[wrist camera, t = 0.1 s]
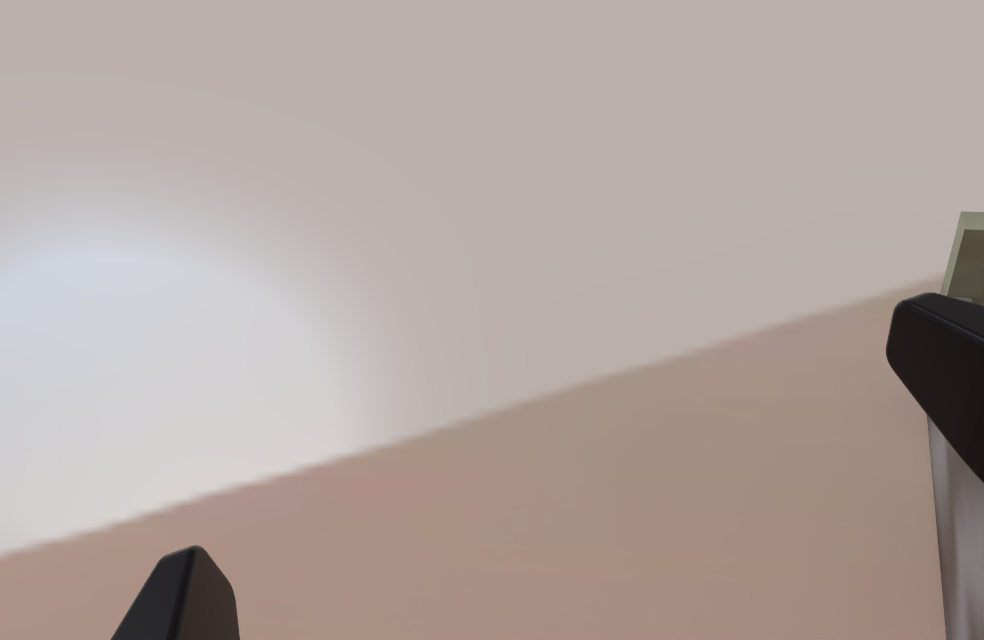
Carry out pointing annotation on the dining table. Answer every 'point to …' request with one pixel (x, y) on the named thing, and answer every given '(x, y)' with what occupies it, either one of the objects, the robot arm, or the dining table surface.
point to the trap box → (961, 466)
